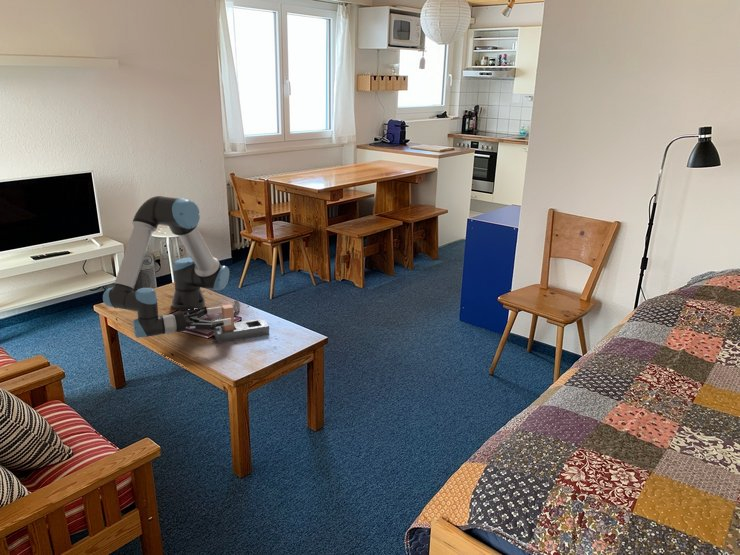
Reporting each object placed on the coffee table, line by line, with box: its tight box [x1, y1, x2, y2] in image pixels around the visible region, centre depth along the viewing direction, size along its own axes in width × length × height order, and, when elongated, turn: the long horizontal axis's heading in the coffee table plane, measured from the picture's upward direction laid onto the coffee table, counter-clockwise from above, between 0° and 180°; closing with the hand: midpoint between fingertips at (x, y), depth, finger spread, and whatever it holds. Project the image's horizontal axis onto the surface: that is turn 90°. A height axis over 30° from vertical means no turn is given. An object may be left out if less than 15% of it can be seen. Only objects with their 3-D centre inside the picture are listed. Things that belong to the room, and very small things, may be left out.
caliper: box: [210, 299, 241, 321], centre depth 261 cm, size 20×1×6 cm, turn 151°
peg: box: [221, 303, 235, 331], centre depth 241 cm, size 4×4×14 cm
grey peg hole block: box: [212, 318, 270, 344], centre depth 245 cm, size 9×22×4 cm, turn 118°
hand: (226, 315), depth 239 cm, fingers open, 13 cm apart
